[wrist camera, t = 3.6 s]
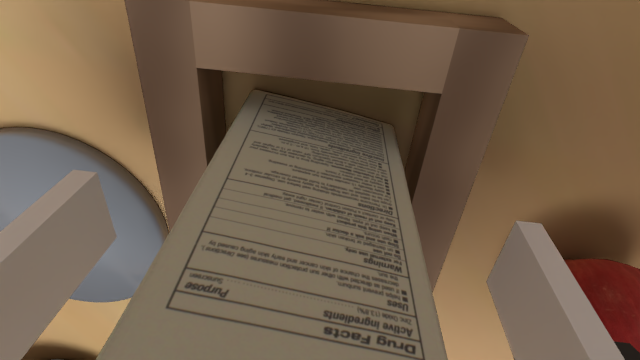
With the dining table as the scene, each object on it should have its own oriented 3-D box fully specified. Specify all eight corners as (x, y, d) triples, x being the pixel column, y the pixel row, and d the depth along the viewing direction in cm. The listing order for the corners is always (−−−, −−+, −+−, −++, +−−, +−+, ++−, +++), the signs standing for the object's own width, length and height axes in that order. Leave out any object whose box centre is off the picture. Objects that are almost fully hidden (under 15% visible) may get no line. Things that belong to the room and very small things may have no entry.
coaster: (150, 141, 17) (139, 152, 16) (181, 298, 23) (175, 312, 22) (-85, 114, 17) (-107, 124, 16) (8, 277, 23) (-5, 290, 23)
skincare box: (238, 170, 18) (73, 503, 7) (252, 83, 15) (34, 401, 5) (370, 205, 18) (384, 563, 8) (404, 125, 16) (488, 495, 5)
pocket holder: (502, 18, 13) (528, 35, 11) (421, 262, 20) (429, 301, 18) (160, -17, 13) (123, -7, 11) (196, 235, 20) (177, 270, 18)
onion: (650, 218, 17) (835, 403, 10) (611, 301, 20) (734, 485, 14) (513, 222, 18) (604, 397, 11) (496, 302, 21) (560, 475, 14)
